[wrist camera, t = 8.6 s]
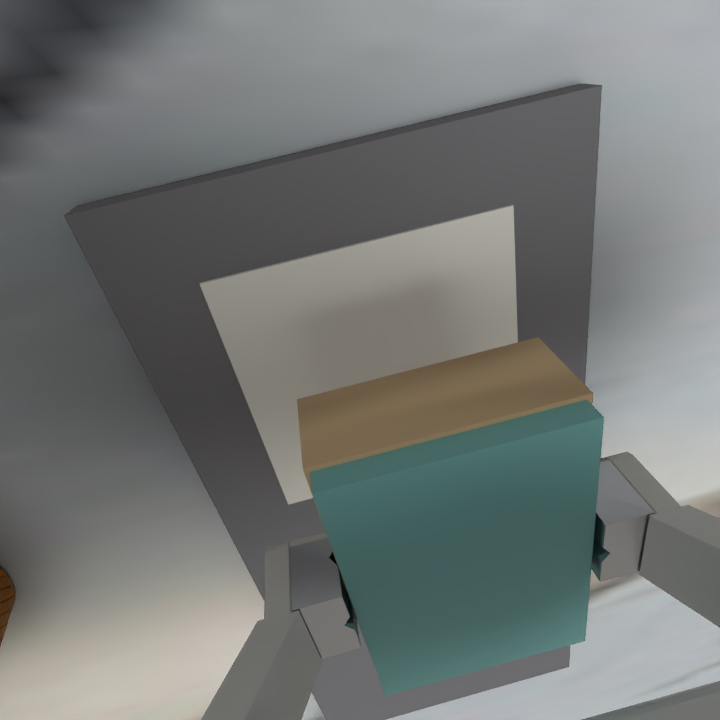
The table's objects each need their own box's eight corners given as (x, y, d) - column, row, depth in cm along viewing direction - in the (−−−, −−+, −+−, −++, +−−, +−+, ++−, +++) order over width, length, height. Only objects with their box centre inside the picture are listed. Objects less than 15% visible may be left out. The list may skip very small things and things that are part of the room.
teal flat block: (297, 399, 10) (304, 491, 8) (538, 337, 10) (610, 410, 8) (364, 600, 14) (381, 699, 12) (539, 552, 14) (588, 642, 12)
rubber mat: (331, 714, 29) (333, 736, 28) (76, 205, 13) (62, 217, 12) (560, 649, 30) (570, 668, 29) (580, 83, 14) (603, 85, 13)
